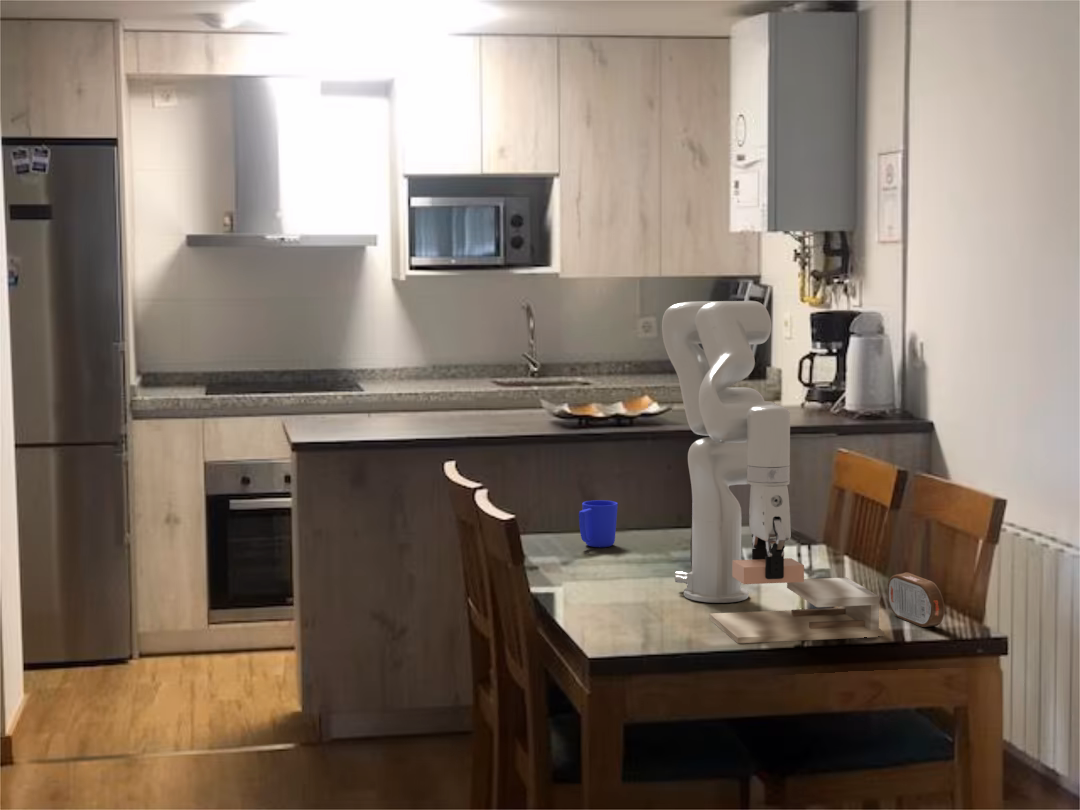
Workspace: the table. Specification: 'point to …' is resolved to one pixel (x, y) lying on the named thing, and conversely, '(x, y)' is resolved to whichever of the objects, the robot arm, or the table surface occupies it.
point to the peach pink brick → (756, 571)
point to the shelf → (810, 615)
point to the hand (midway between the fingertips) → (767, 573)
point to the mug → (598, 522)
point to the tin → (915, 600)
